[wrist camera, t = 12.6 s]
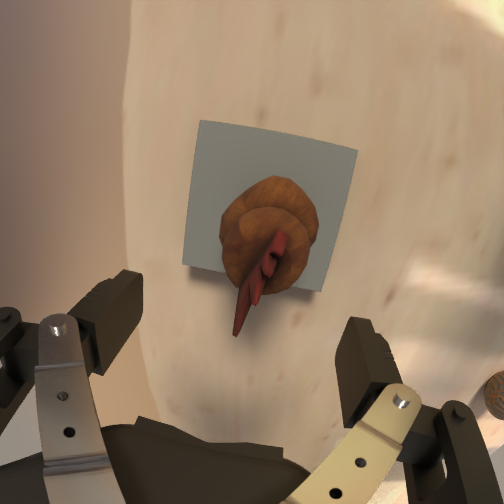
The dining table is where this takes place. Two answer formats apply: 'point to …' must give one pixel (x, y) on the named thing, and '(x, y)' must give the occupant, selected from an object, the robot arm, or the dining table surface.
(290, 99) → the dining table surface
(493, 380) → the vase
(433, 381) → the dining table surface
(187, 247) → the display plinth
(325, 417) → the dining table surface
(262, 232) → the wooden figurine
